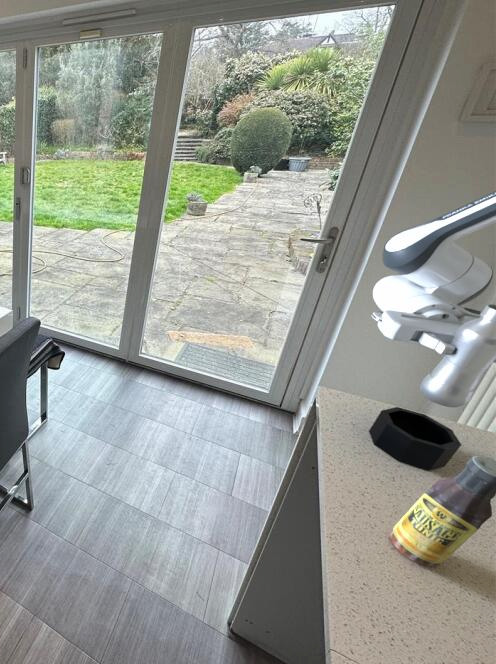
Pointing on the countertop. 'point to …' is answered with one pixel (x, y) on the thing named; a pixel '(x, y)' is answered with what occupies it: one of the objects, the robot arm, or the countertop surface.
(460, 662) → the countertop surface
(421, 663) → the countertop surface
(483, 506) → the sauce bottle
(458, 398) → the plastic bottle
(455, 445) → the bowl
